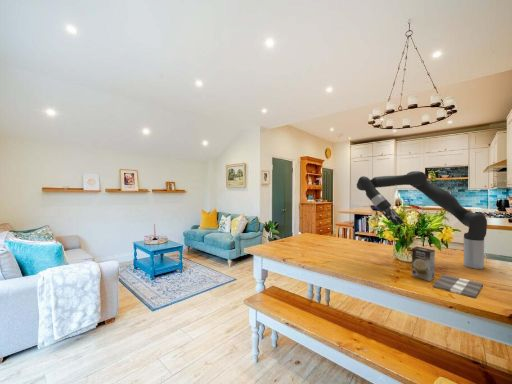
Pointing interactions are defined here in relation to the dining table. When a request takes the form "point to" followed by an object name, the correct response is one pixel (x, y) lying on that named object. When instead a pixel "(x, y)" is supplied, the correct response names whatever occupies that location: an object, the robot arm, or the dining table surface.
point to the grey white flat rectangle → (458, 285)
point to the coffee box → (423, 263)
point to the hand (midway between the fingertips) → (400, 224)
